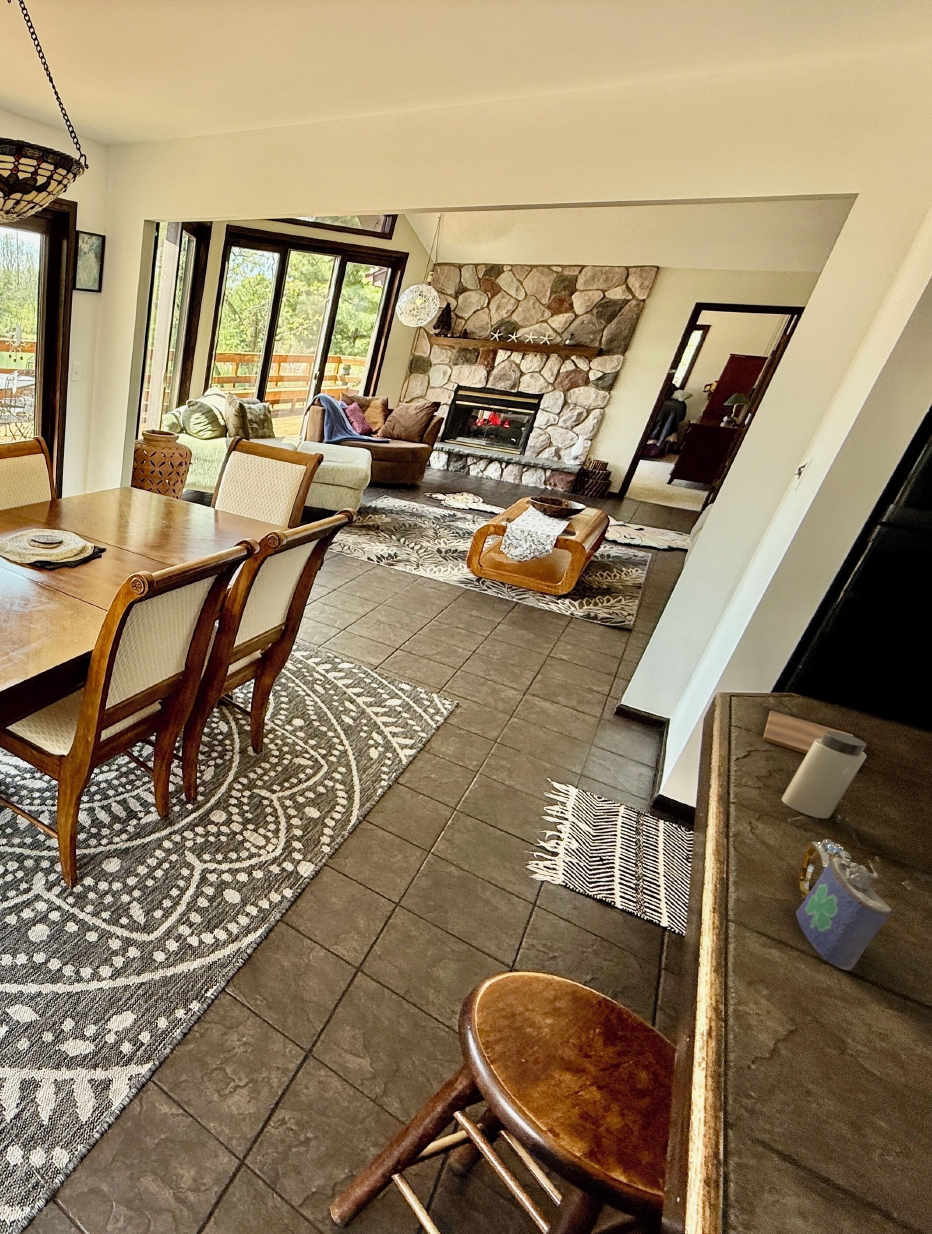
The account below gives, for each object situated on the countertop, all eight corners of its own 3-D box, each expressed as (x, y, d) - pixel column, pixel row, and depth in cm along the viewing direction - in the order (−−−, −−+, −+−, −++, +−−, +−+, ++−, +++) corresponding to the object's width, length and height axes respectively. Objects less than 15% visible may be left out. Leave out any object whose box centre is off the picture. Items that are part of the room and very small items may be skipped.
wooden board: (851, 768, 109) (854, 764, 109) (762, 740, 116) (764, 736, 116) (851, 738, 119) (853, 734, 119) (769, 713, 126) (770, 710, 126)
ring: (781, 875, 83) (811, 824, 80) (816, 889, 81) (849, 837, 78) (785, 905, 78) (818, 852, 75) (823, 920, 76) (858, 866, 73)
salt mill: (819, 803, 99) (860, 735, 94) (837, 822, 94) (881, 752, 90) (775, 792, 101) (812, 725, 96) (790, 811, 96) (831, 741, 92)
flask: (853, 980, 68) (908, 901, 64) (815, 967, 69) (867, 889, 65) (817, 921, 76) (864, 848, 72) (783, 910, 77) (827, 838, 73)
